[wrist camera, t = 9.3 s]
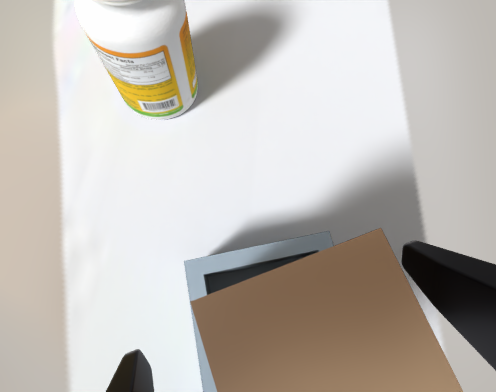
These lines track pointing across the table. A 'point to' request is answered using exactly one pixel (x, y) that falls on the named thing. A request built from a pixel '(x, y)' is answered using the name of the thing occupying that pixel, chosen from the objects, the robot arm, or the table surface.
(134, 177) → the table surface
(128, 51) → the supplement bottle
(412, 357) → the walnut block
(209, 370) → the bin
